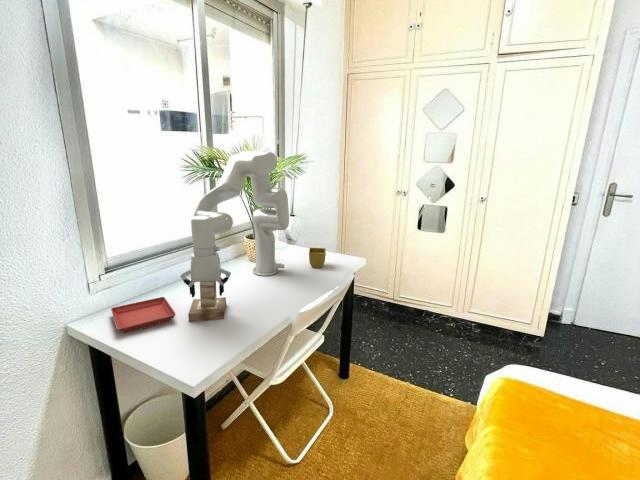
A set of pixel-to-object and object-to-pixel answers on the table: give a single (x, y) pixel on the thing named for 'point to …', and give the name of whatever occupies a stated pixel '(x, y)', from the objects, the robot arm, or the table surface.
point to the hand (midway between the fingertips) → (207, 295)
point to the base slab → (207, 311)
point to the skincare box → (208, 294)
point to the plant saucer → (142, 314)
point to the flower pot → (317, 257)
